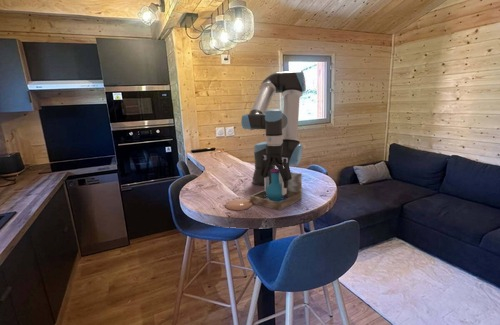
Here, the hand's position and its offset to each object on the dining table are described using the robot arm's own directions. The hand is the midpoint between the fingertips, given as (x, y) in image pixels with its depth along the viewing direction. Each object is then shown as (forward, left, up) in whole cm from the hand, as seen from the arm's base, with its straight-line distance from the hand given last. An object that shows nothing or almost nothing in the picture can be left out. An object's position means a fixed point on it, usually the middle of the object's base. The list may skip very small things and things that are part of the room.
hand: (275, 192), depth 126 cm
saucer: (-10, -14, -4) cm, 18 cm away
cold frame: (0, 0, -4) cm, 4 cm away
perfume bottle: (0, 0, -4) cm, 4 cm away
